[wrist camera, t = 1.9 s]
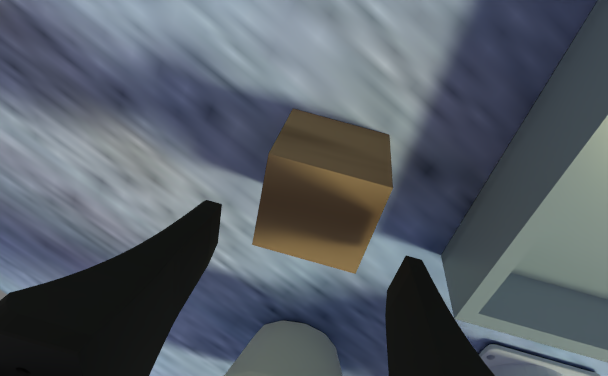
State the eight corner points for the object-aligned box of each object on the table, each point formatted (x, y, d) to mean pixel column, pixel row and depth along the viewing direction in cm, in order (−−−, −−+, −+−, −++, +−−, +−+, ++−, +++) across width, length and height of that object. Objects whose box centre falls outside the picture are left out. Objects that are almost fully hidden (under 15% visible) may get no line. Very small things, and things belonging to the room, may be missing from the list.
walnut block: (359, 210, 21) (355, 273, 17) (276, 187, 21) (252, 244, 17) (389, 134, 18) (392, 188, 14) (293, 107, 18) (268, 153, 14)
